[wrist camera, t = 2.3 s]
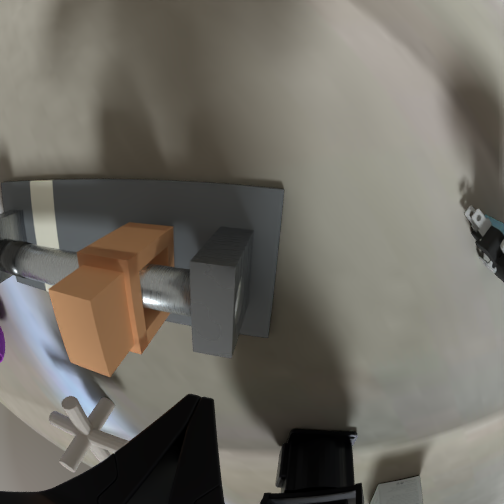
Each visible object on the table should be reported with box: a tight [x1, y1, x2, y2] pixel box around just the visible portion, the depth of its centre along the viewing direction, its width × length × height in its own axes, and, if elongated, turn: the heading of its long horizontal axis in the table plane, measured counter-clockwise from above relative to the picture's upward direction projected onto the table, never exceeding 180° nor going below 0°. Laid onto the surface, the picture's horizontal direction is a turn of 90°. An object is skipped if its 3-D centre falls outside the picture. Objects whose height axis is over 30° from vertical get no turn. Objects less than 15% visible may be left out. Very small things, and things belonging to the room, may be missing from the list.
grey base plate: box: [1, 179, 284, 338], centre depth 20 cm, size 25×10×1 cm, turn 86°
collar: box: [48, 222, 174, 377], centre depth 14 cm, size 3×5×8 cm, turn 176°
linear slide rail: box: [0, 209, 254, 358], centre depth 17 cm, size 22×5×5 cm, turn 86°
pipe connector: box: [49, 396, 129, 472], centre depth 23 cm, size 10×10×10 cm
